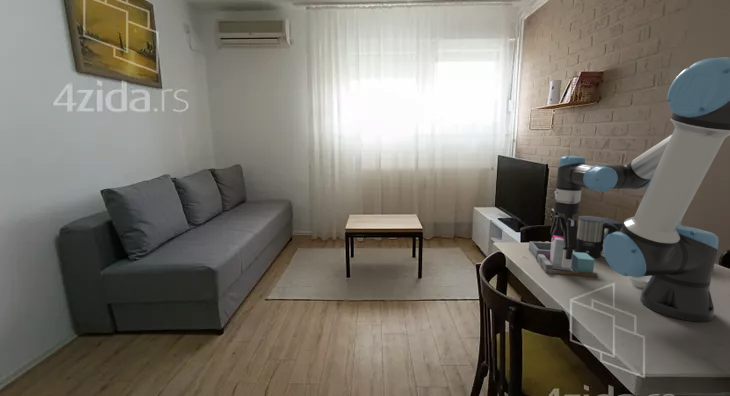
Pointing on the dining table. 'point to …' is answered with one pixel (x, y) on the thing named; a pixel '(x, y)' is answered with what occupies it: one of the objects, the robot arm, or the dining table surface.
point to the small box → (614, 222)
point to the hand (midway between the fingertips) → (559, 260)
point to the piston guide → (548, 268)
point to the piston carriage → (582, 262)
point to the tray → (540, 248)
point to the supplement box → (557, 253)
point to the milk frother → (592, 235)
